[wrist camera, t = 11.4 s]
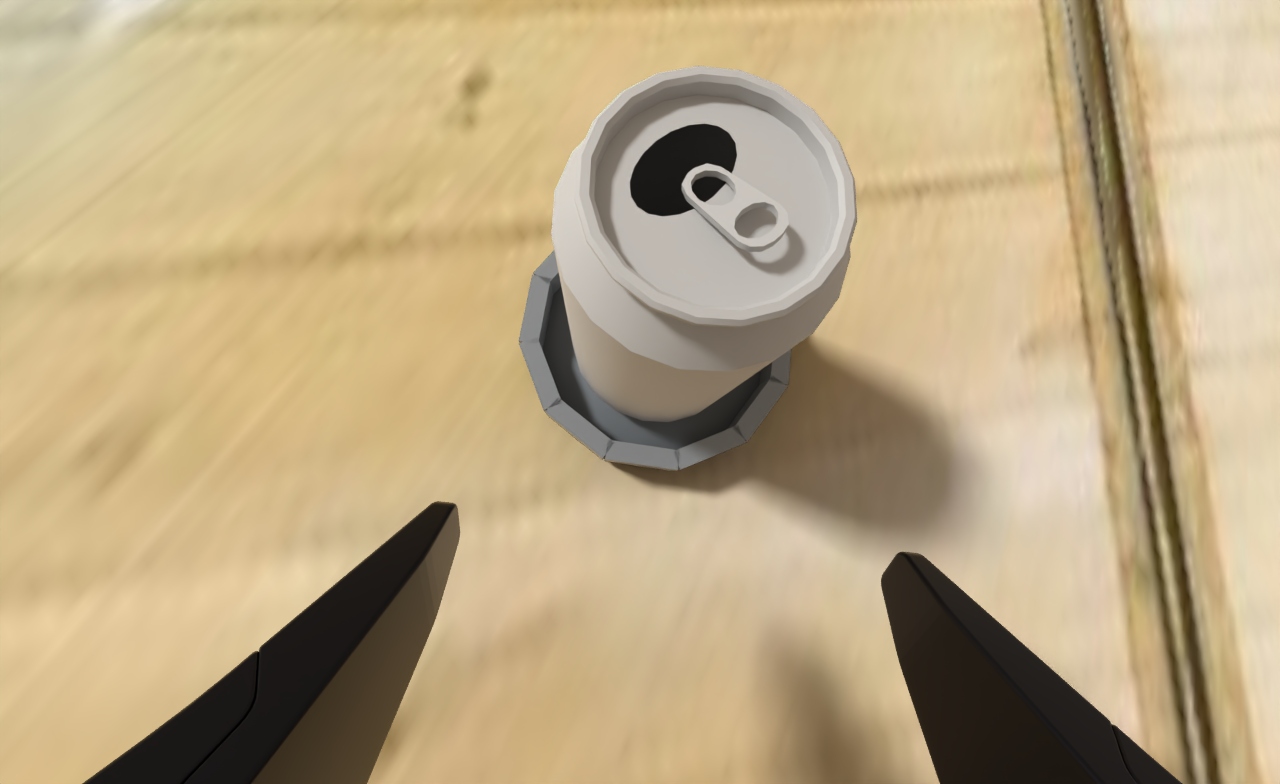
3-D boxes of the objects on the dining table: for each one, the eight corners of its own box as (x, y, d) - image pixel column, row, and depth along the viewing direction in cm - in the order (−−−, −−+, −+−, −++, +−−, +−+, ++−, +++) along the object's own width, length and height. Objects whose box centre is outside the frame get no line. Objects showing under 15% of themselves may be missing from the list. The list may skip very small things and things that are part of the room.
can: (658, 238, 23) (722, -24, 11) (768, 350, 22) (959, 200, 10) (539, 337, 21) (465, 159, 10) (652, 460, 21) (722, 431, 9)
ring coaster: (813, 413, 22) (835, 406, 20) (582, 507, 21) (580, 510, 19) (716, 202, 24) (727, 176, 22) (495, 274, 22) (485, 252, 20)
